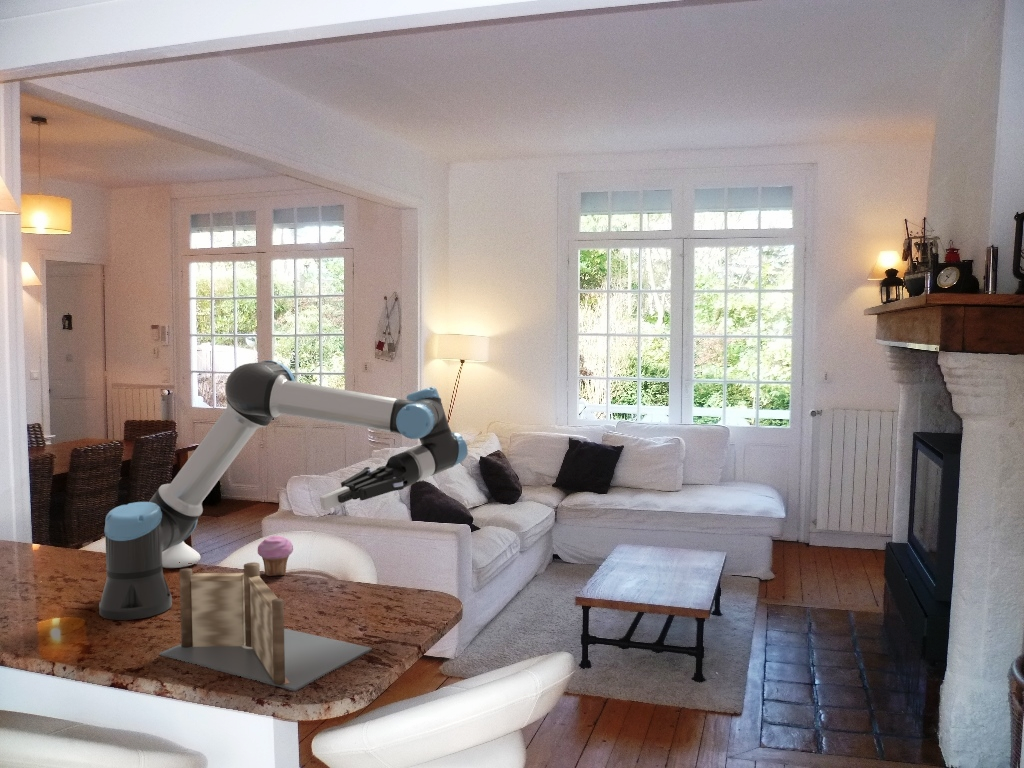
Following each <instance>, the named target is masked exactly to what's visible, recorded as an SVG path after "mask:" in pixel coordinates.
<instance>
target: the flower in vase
mask: <svg viewBox="0 0 1024 768" xmlns="http://www.w3.org/2000/svg"><path fill="white" fill-rule="evenodd" d="M199 561H201V555H200V553H199V552H198V551H197V550H195V549H194V548H192V547H191V546H190V545H188V544H186V542H185V540H184V541H183V542H181V543H179V544H177V545H174V546H172V547H170V548H169V549H167V550H165V551H163V552H162V562H163V563H162V565H163V568H165V569H177V568H179V569H181V568H187V567H189V566H190V567H191V566H192V565H194V564H197V563H198V562H199ZM179 562H180V563H179ZM188 563H192V564H188Z"/></svg>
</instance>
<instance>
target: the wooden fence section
mask: <svg viewBox="0 0 1024 768" xmlns="http://www.w3.org/2000/svg"><path fill="white" fill-rule="evenodd" d="M255 576H259V577H260V578H261V573H260V563H259V562H255V561H253V562H247V563H244V564H243V572H223V573H222V572H215V573H214V572H207V573H205V572H203V573H200V572H198V573H197V572H196V573H195V572H194V573H193V568H191V567H190V568H189V567H184V568H180V569H179V597H180V598H179V599H180V604H179V605H180V635H181V636H180V638H181V639H180V640H181V641H180V644H182V647H184V648H188V647H192V646H193V647H213V646H243V645H244V644H246V646H247V647H251V604H250V583H249V577H255Z"/></svg>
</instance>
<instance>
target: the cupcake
mask: <svg viewBox="0 0 1024 768" xmlns="http://www.w3.org/2000/svg"><path fill="white" fill-rule="evenodd" d="M293 552H294V545H293V543H292V541H291V540H290V539H288V538H287V537H285V536H280V535H273V536H268V537H266V538H264V539H263V540H262V541H261V542H260V543H259V544H258V546H257V554H258V556H260V557H261V558H262V561H263V569H264V574H265V575H266V576H267V577H271V576H273V577H274V576H285V574H286V572H287V563H288V559H289V557H290V555H291V554H292V553H293Z"/></svg>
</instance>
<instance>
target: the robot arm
mask: <svg viewBox="0 0 1024 768" xmlns="http://www.w3.org/2000/svg"><path fill="white" fill-rule="evenodd" d="M224 389H225V391H224V392H225V396H226V397H225V403H226V408H225V410H224V411H223V412H222V413H221V415H220V416H219V417H218V419H216V421H215V423H214V424H213V426H212V427H211V428H210V430H209V431H208V432H207V434H206V435H205V437H203V439H202V441H201V442H200V443H199V445H197V447H196V449H195V450H194V451H193V453H192V454H191V456H190V457H189V458H188V459H187V461H186V462H185V464H184V465H183V466H182V467H181V469H180V470H179V471H178V472H177V474H176V475H175V477H174V478H173V479H172V481H171V482H170V483H165V484H161V485H160V486H159V488H157V490H156V491H155V493H154V494H153V495H152V497H151V498H150V499H149V501H137V502H130V503H127V504H121V505H119V506H116V507H114V508H112V509H111V510H110V511H109V512H108V513H107V514H106V516H105V519H104V520H105V521H104V522H105V525H104V528H103V529H104V537H105V539H104V540H105V561H106V564H105V565H106V580H105V584H104V588H103V591H102V595H101V599H100V600H99V603H98V613H99V616H101V618H104V619H108V620H112V621H113V620H116V621H122V620H123V621H130V620H139V619H144V618H150V617H153V616H157V615H160V614H162V613H164V612H166V611H168V610H170V609H171V607H172V606H173V599H172V594H171V592H170V588H169V586H168V583H167V580H166V578H165V575H164V572H163V571H164V569H163V568H164V567H163V565H162V563H163V562H162V552H163V551H165V550H167V549H169V548H170V547H172V546H174V545H177V544H179V543H181V542H183V541H184V542H185V540H187V539H188V538H189V537H190V536H191V535H192V533H193V532H194V531H195V529H196V527H197V524H198V519H199V518H200V517H201V515H202V514H203V511H204V508H203V501H204V500H205V499H206V497H208V495H209V494H210V493H211V491H213V488H214V487H215V486H216V485H217V483H218V481H220V479H221V478H222V476H223V475H224V473H226V471H227V470H228V469H229V467H230V465H231V464H232V463H233V462H234V460H236V458H237V457H238V455H239V454H240V452H241V451H242V449H243V448H244V447H245V446H246V444H248V443H247V442H249V440H251V438H252V437H253V435H254V434H255V432H256V431H257V430H258V429H260V428H266V427H268V426H269V424H270V423H271V421H272V420H274V418H275V419H276V418H278V417H279V416H281V415H286V416H292V417H297V418H305V419H310V420H315V421H321V422H322V421H323V422H327V423H335V424H340V425H347V426H352V427H357V428H365V429H371V430H376V431H383V432H388V433H389V432H390V433H393V434H399V435H402V436H404V437H405V438H407V439H410V440H418V439H419V441H420V445H417V446H414V447H411V448H409V449H407V450H405V451H403V452H399V453H398V454H395V455H392V456H391V457H389V458H388V459H387V461H386V462H387V463H386V464H385V465H382V466H379V467H377V468H376V469H374V470H373V469H372V470H371V468H370V467H369V466H366V467H364V468H363V469H361V471H359V472H357V473H356V474H354V475H352V476H350V477H348V478H347V479H345V480H343V481H341V482H340V484H341V487H339V488H337V489H336V490H333V491H329V492H328V493H326V494H322V495H320V496H319V501H320V506H321V509H322V510H323V511H327V510H330V509H332V508H334V507H337V506H339V505H341V504H342V505H343V504H345V503H347V502H348V501H351V500H358V499H359V500H360V501H365V500H369V499H372V498H374V497H379V496H381V495H385V494H388V493H391V492H394V491H401V490H404V489H405V488H406V487H409V486H412V485H414V484H416V482H417V483H418V482H423V481H424V479H427V478H429V477H432V476H434V475H437V474H439V473H441V472H444V471H447V470H449V469H451V468H454V467H455V466H457V465H459V464H461V463H463V462H464V461H465V460H466V459H467V456H468V449H469V448H468V445H467V444H468V443H467V442H466V440H464V438H463V436H462V435H461V434H460V433H459V432H454V431H453V432H452V430H451V428H450V425H449V423H448V419H447V415H446V412H445V409H444V406H443V402H442V398H441V397H440V395H439V392H438V390H437V388H436V387H435V386H430V387H427V388H424V389H420V390H417V391H413V392H411V393H409V394H407V396H406V399H399V398H395V397H388V396H384V395H383V396H382V395H375V394H372V393H371V394H370V393H367V392H366V393H365V392H360V391H359V392H358V391H354V390H346V389H341V388H334V387H330V386H329V387H328V386H323V385H318V384H311V383H306V382H305V383H304V382H299V381H296V377H295V375H294V374H293V373H292V370H291V369H289V368H288V367H287V366H286V365H285V364H283V363H281V362H278V361H274V360H262V361H259V362H251V363H244V364H242V365H239V366H237V367H236V368H234V370H233V371H231V372H230V374H229V376H228V377H227V379H226V381H225V386H224Z"/></svg>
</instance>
